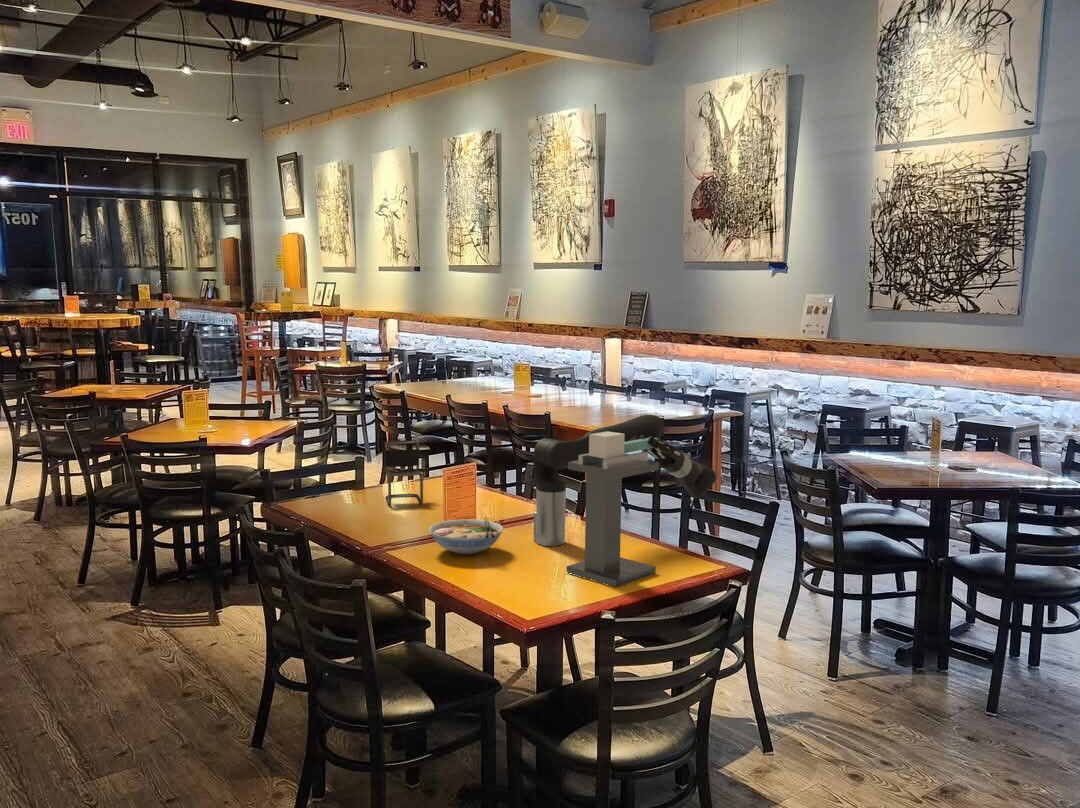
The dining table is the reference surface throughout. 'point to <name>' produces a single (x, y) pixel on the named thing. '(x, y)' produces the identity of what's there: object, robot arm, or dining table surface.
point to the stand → (608, 518)
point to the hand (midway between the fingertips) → (645, 438)
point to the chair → (402, 461)
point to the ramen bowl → (466, 535)
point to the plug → (614, 445)
